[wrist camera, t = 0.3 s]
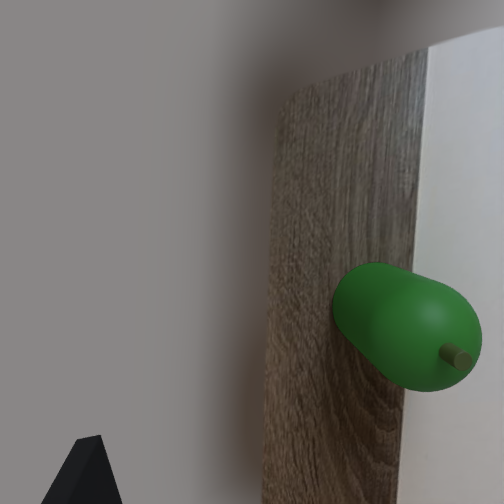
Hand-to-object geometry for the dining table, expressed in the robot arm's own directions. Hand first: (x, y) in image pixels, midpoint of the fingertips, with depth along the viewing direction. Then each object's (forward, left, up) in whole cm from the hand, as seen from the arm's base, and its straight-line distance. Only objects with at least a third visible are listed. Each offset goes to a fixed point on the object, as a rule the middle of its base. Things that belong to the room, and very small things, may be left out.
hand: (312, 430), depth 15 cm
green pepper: (+3, +9, -21) cm, 23 cm away
